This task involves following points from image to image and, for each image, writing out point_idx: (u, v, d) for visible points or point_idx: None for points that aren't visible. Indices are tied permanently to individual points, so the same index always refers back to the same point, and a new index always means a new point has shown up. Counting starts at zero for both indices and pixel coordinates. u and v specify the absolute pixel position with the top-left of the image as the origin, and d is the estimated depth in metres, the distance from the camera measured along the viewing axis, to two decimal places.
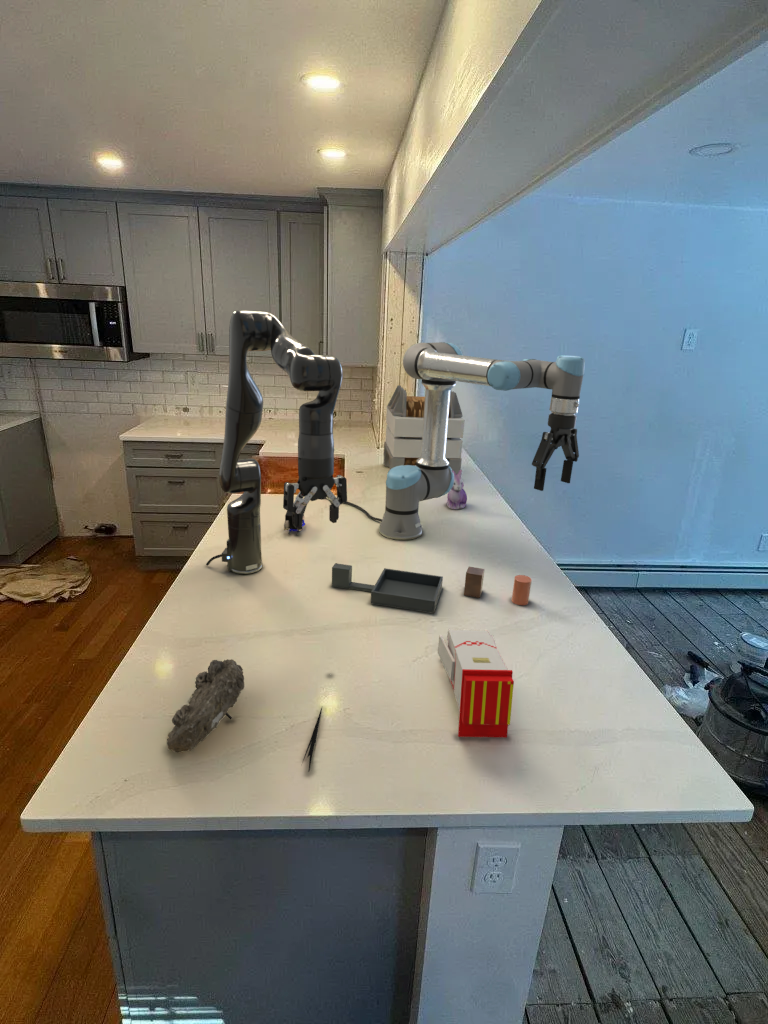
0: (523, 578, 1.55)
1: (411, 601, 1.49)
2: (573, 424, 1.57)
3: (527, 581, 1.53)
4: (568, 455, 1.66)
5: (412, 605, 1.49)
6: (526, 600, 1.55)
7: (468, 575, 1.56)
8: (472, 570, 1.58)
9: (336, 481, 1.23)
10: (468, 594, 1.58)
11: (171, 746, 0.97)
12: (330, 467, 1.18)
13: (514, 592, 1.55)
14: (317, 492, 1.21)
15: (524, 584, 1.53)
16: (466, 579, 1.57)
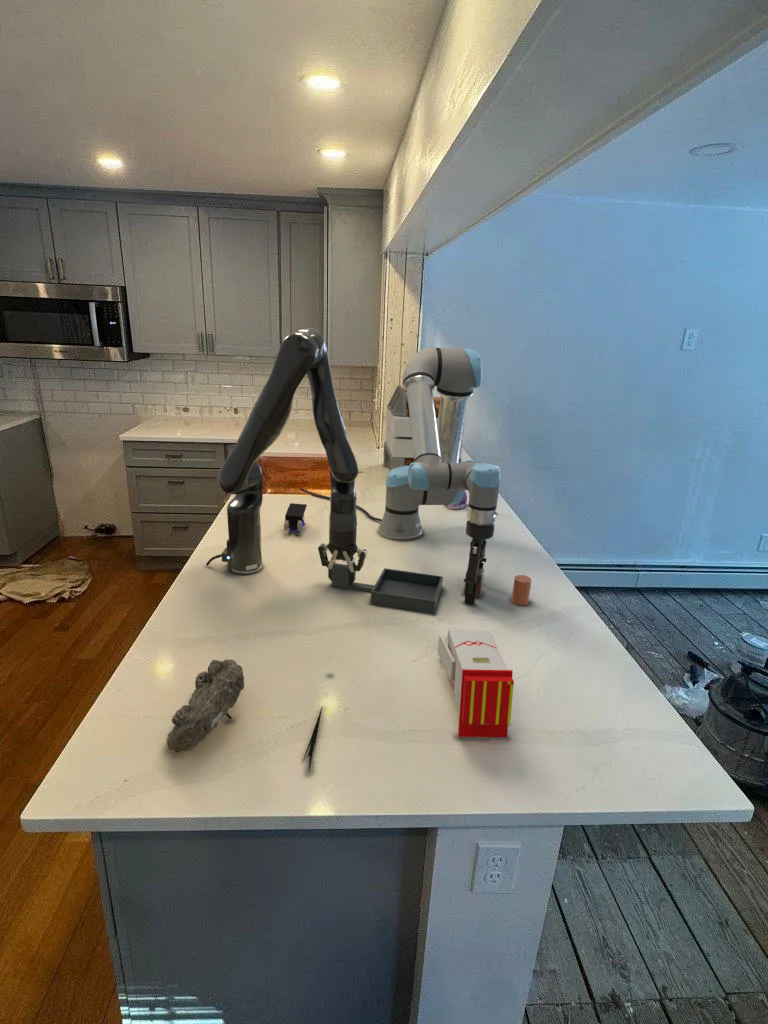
0: (523, 578, 1.55)
1: (411, 601, 1.49)
2: (493, 532, 1.53)
3: (527, 581, 1.53)
4: None
5: (412, 605, 1.49)
6: (526, 600, 1.55)
7: None
8: None
9: None
10: None
11: (171, 746, 0.97)
12: None
13: (514, 592, 1.55)
14: None
15: (524, 584, 1.53)
16: None
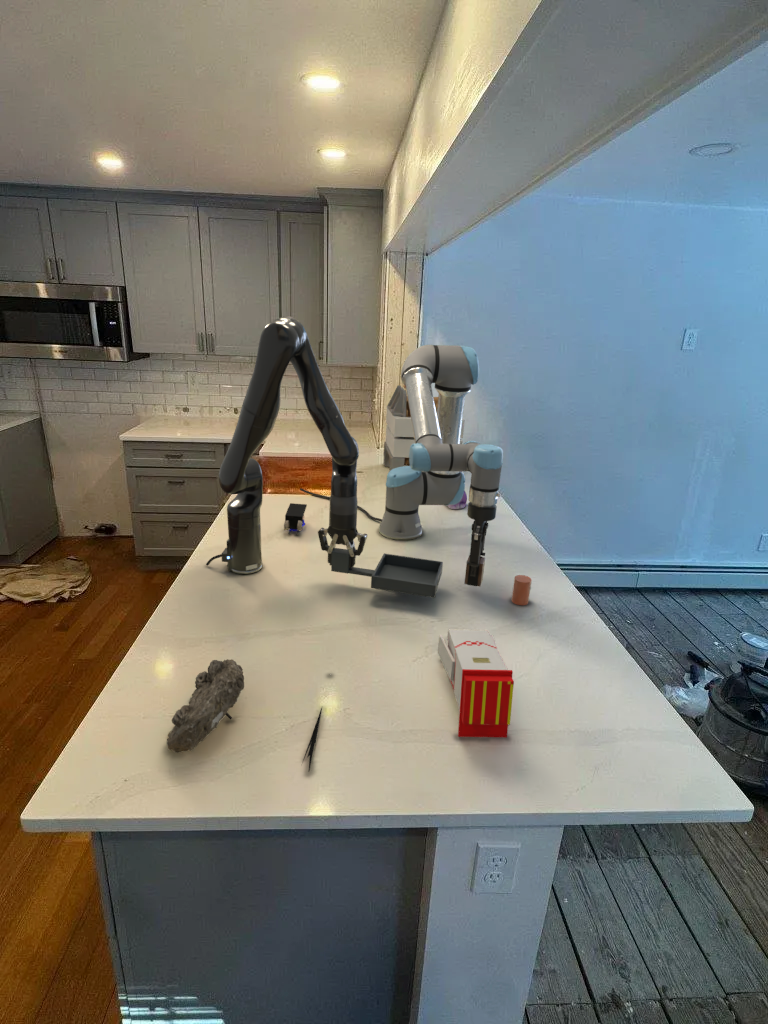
0: (523, 578, 1.55)
1: (411, 585, 1.48)
2: (495, 514, 1.51)
3: (527, 581, 1.53)
4: None
5: (413, 589, 1.49)
6: (526, 600, 1.55)
7: None
8: None
9: None
10: None
11: (171, 746, 0.97)
12: None
13: (514, 592, 1.55)
14: None
15: (524, 584, 1.53)
16: (467, 568, 1.56)
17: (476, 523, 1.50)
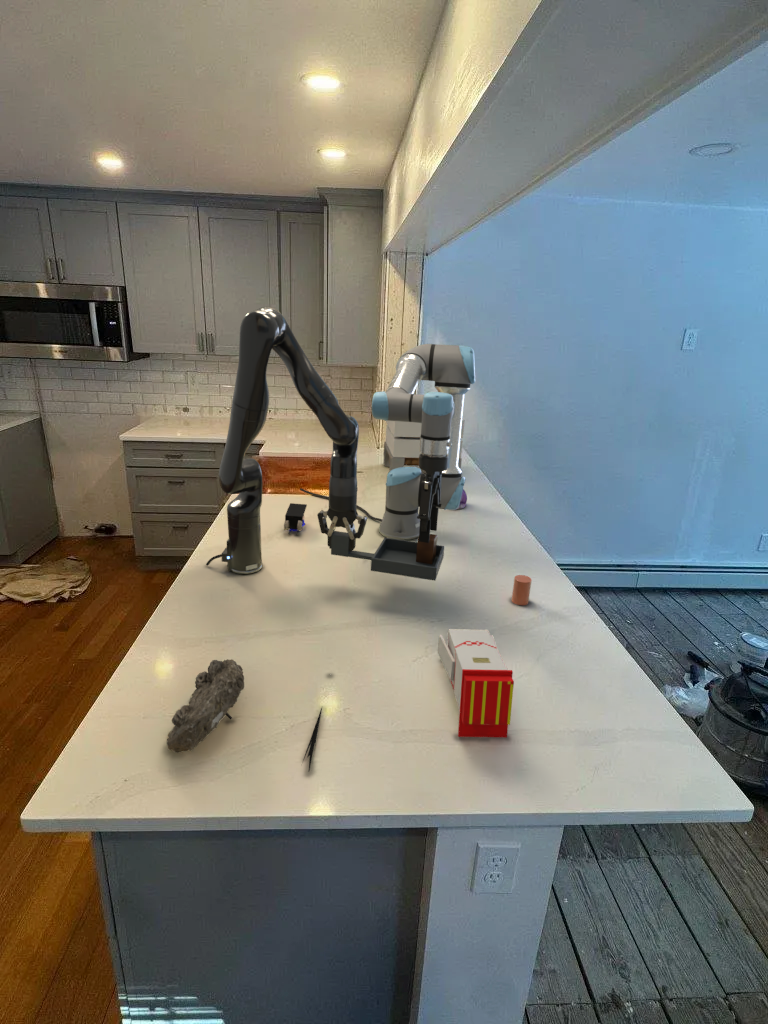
0: (523, 578, 1.55)
1: (412, 568, 1.46)
2: (447, 465, 1.46)
3: (527, 581, 1.53)
4: (433, 500, 1.54)
5: (413, 572, 1.46)
6: (526, 600, 1.55)
7: None
8: None
9: None
10: (420, 560, 1.54)
11: (171, 746, 0.97)
12: None
13: (514, 592, 1.55)
14: None
15: (524, 584, 1.53)
16: (418, 545, 1.53)
17: (427, 474, 1.44)
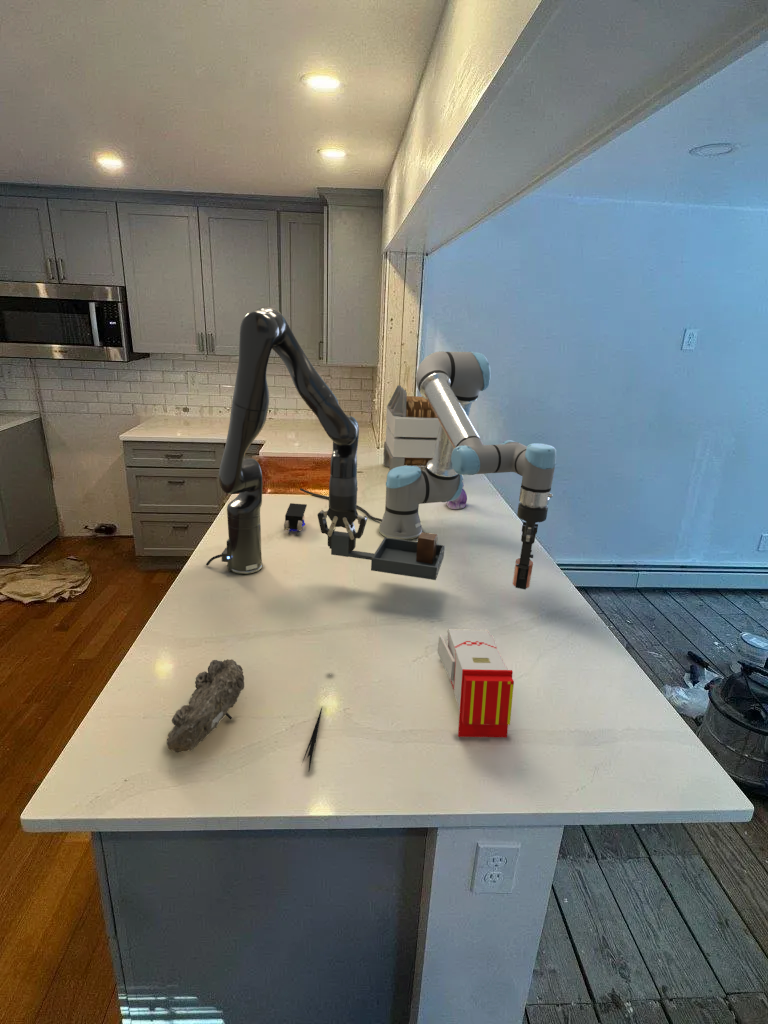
0: None
1: (412, 567, 1.46)
2: (546, 515, 1.47)
3: None
4: None
5: (413, 572, 1.46)
6: (527, 583, 1.53)
7: (420, 539, 1.52)
8: (425, 535, 1.54)
9: None
10: (420, 560, 1.54)
11: (171, 746, 0.97)
12: None
13: (515, 575, 1.54)
14: None
15: None
16: (418, 544, 1.53)
17: (527, 524, 1.46)
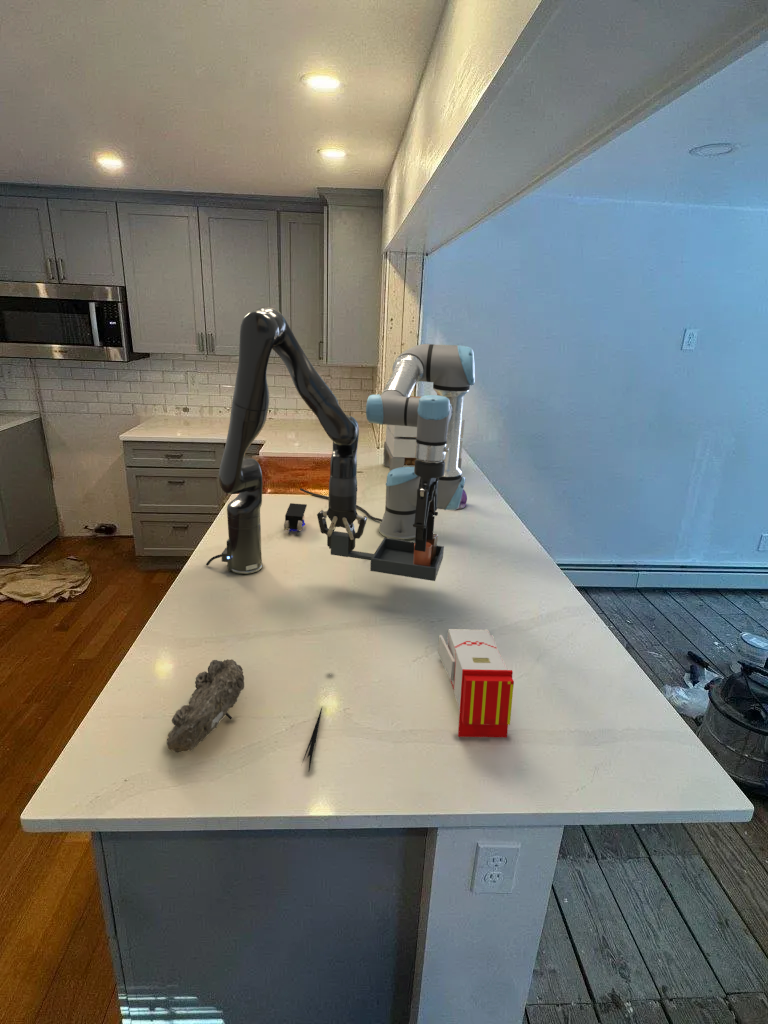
0: None
1: (411, 568, 1.46)
2: (444, 471, 1.40)
3: (426, 547, 1.47)
4: (429, 508, 1.48)
5: (413, 572, 1.46)
6: None
7: None
8: None
9: None
10: None
11: (171, 746, 0.97)
12: None
13: (414, 559, 1.48)
14: None
15: None
16: None
17: (423, 480, 1.38)
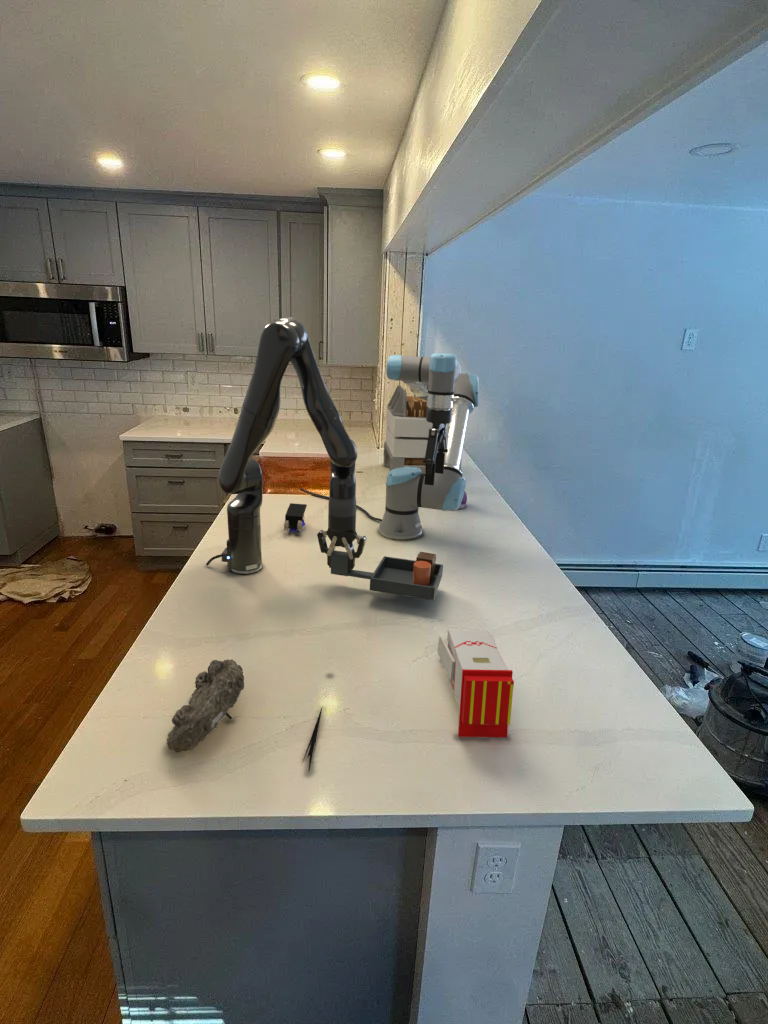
0: (422, 564, 1.49)
1: (410, 588, 1.47)
2: (451, 418, 1.64)
3: (425, 567, 1.48)
4: (440, 447, 1.74)
5: (411, 592, 1.47)
6: None
7: (419, 559, 1.53)
8: (424, 555, 1.55)
9: None
10: None
11: (171, 746, 0.97)
12: None
13: (413, 578, 1.50)
14: None
15: (422, 570, 1.47)
16: None
17: (433, 426, 1.63)
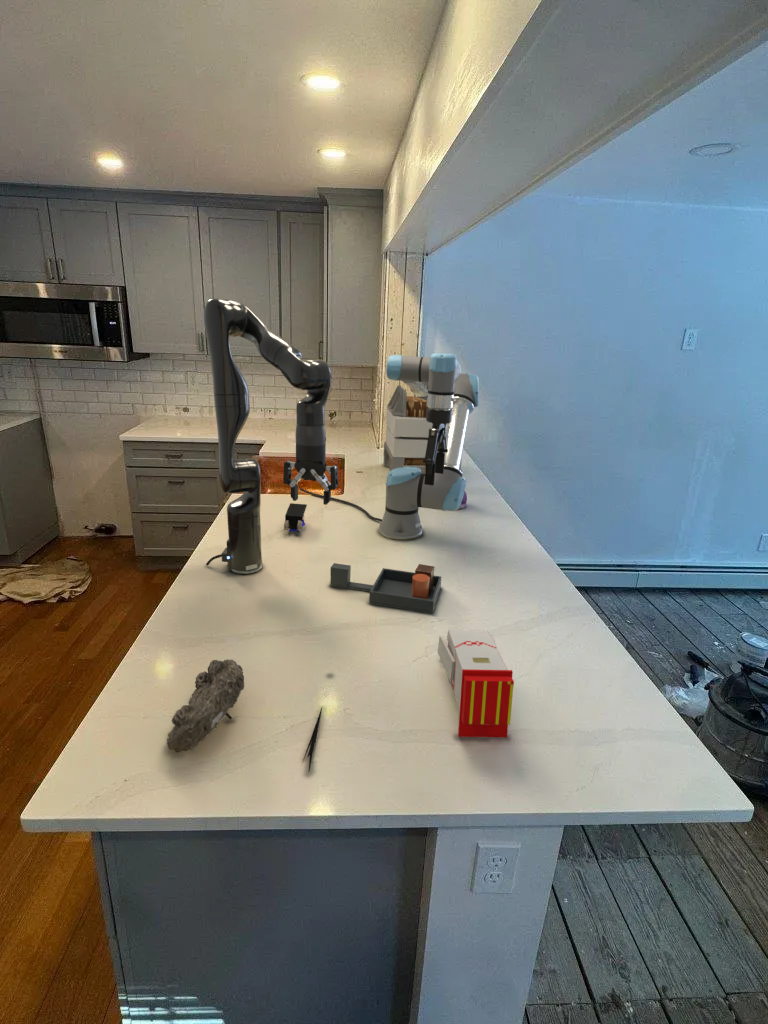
0: (421, 577, 1.51)
1: (409, 601, 1.49)
2: (451, 418, 1.64)
3: (424, 580, 1.50)
4: (440, 447, 1.74)
5: (411, 605, 1.49)
6: None
7: (417, 572, 1.55)
8: (422, 567, 1.57)
9: None
10: None
11: (171, 746, 0.97)
12: None
13: (412, 591, 1.52)
14: None
15: (421, 583, 1.49)
16: None
17: (433, 426, 1.63)
